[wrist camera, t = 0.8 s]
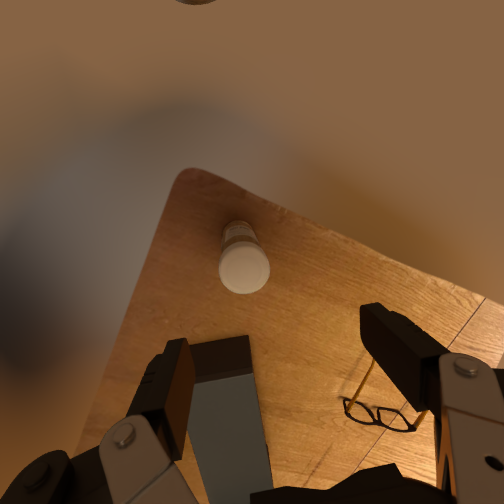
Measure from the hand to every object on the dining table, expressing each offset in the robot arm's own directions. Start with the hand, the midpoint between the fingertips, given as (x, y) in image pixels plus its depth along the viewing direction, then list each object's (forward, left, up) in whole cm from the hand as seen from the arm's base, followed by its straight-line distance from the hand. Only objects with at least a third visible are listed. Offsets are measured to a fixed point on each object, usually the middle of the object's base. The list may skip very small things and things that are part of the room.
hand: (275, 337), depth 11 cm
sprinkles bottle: (+1, -1, -24) cm, 24 cm away
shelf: (+31, -7, -24) cm, 40 cm away
